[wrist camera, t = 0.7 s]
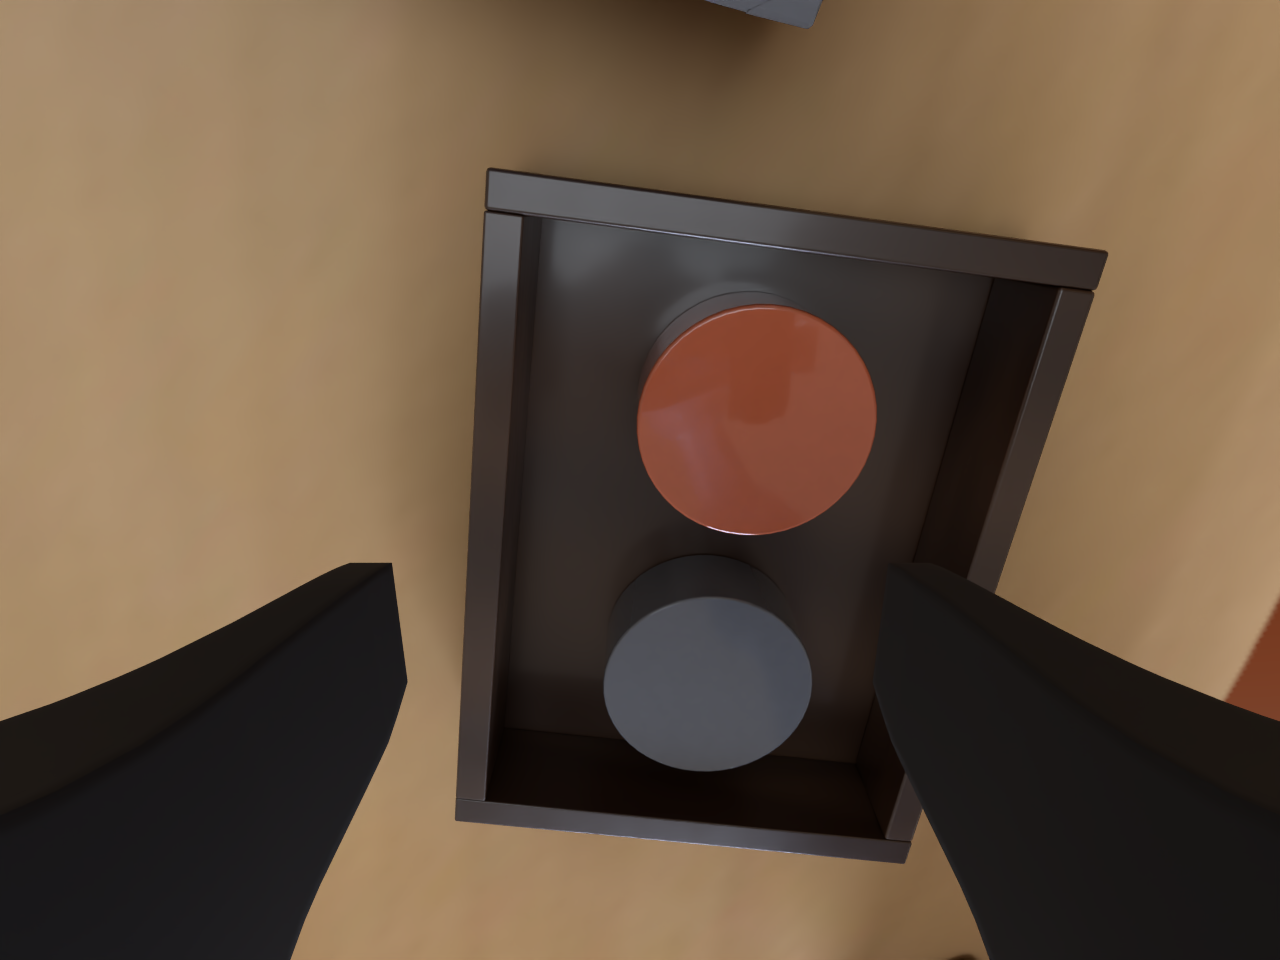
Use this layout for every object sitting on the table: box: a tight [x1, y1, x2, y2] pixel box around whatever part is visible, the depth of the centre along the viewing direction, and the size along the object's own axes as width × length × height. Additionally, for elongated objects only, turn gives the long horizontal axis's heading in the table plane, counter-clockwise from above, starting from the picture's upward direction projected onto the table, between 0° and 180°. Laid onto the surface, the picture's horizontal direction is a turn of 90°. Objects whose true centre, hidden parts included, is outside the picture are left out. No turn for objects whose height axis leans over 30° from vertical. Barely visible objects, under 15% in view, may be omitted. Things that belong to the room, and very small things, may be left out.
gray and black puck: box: [603, 555, 813, 772], centre depth 21 cm, size 6×6×2 cm
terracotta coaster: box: [636, 292, 877, 535], centre depth 18 cm, size 6×6×2 cm
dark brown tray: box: [455, 168, 1108, 864], centre depth 19 cm, size 17×13×3 cm
